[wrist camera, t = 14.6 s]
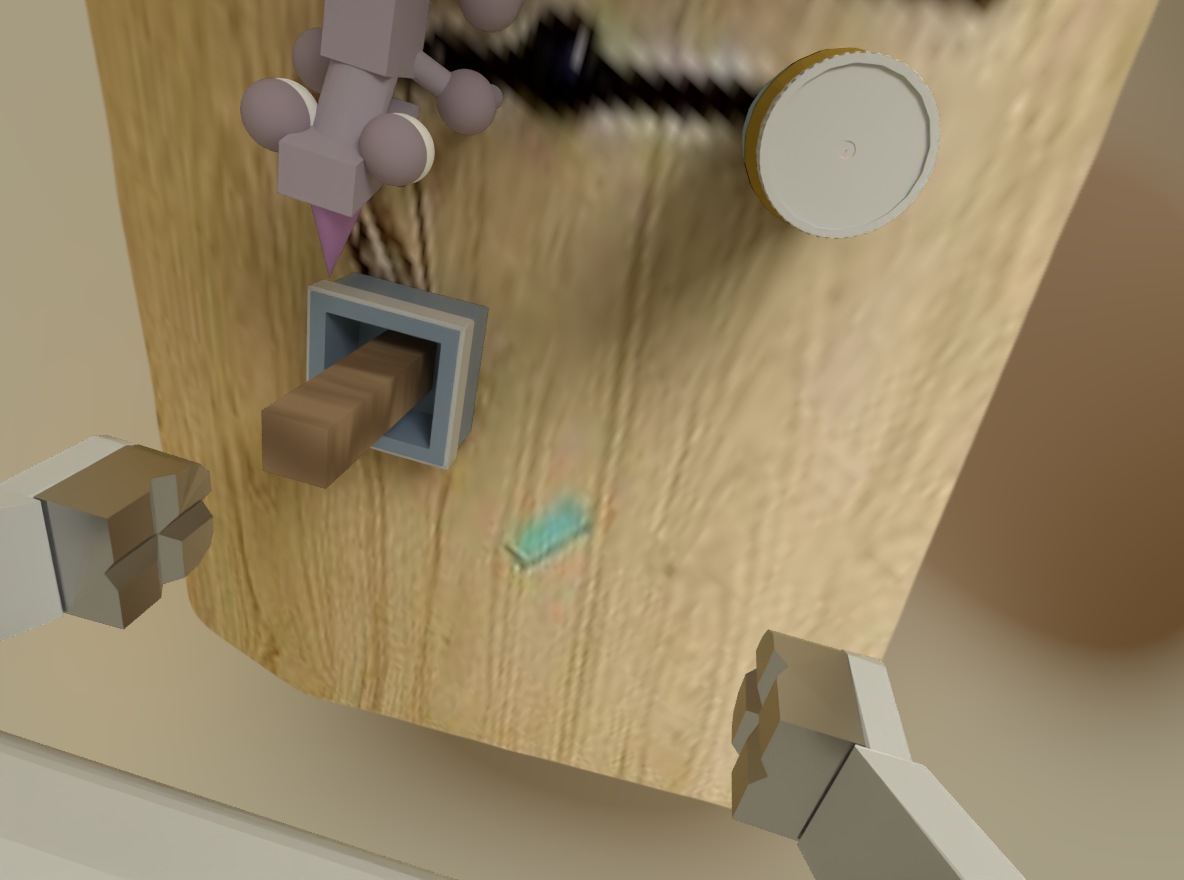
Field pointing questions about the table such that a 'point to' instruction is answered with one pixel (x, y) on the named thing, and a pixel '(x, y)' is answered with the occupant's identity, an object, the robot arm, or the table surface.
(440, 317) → the blue square box
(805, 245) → the table surface
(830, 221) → the bottle
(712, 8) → the table surface
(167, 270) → the table surface
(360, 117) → the mauve toy figure
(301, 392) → the brown wooden block
